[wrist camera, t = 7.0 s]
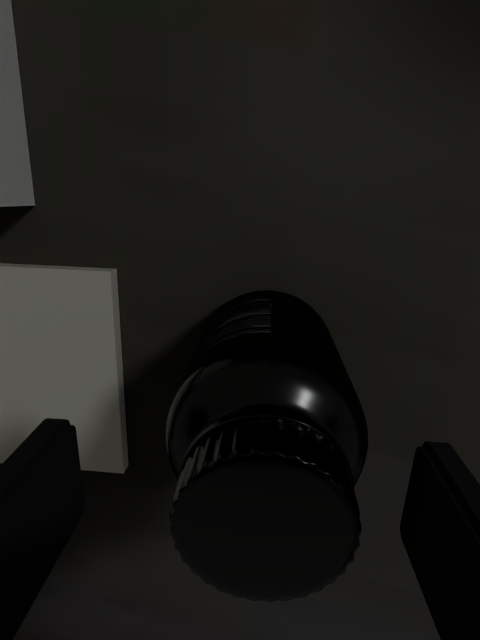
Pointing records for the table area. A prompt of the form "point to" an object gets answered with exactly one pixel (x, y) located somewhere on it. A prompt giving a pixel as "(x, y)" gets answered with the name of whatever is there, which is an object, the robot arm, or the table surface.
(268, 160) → the table surface
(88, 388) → the pad
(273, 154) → the table surface
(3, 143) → the box
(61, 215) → the table surface
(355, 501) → the supplement bottle
